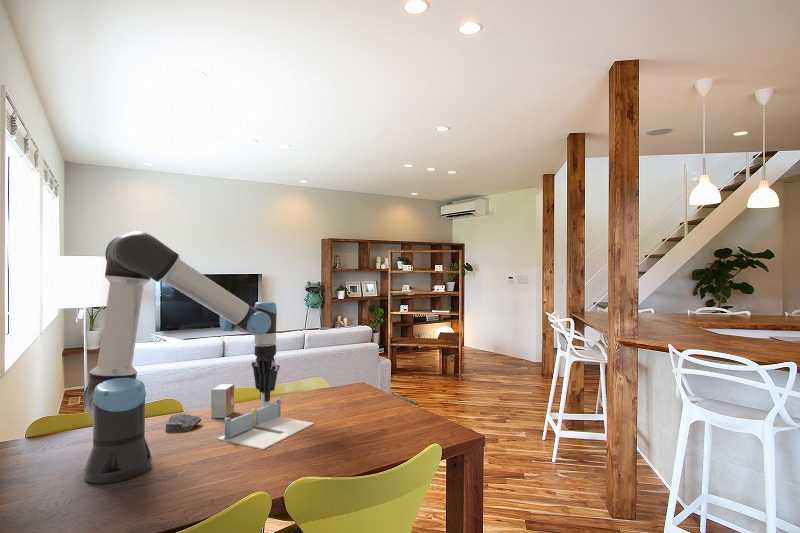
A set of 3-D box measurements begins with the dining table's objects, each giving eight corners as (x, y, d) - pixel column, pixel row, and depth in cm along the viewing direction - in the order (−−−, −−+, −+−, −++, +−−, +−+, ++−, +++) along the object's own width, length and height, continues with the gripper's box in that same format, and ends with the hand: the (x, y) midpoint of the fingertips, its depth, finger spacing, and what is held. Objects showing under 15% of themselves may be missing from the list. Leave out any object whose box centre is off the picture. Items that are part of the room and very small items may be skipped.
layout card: (263, 449, 132) (263, 448, 132) (216, 439, 140) (216, 437, 140) (313, 424, 154) (313, 422, 154) (271, 416, 162) (271, 415, 162)
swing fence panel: (254, 427, 149) (254, 409, 149) (250, 426, 149) (250, 408, 149) (281, 415, 161) (281, 399, 161) (277, 414, 162) (277, 398, 162)
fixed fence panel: (227, 441, 138) (227, 419, 138) (223, 440, 139) (223, 418, 139) (252, 430, 148) (252, 410, 148) (248, 429, 149) (248, 409, 149)
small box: (225, 418, 160) (226, 389, 160) (210, 418, 160) (210, 389, 160) (234, 411, 168) (234, 384, 168) (219, 411, 168) (220, 383, 168)
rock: (194, 432, 147) (194, 419, 147) (162, 433, 146) (162, 420, 146) (202, 424, 154) (202, 412, 155) (171, 425, 153) (171, 413, 153)
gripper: (285, 344, 159) (285, 410, 159) (262, 341, 166) (261, 404, 166) (268, 347, 153) (268, 416, 152) (245, 344, 160) (244, 409, 160)
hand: (264, 409), depth 159 cm, fingers closed
